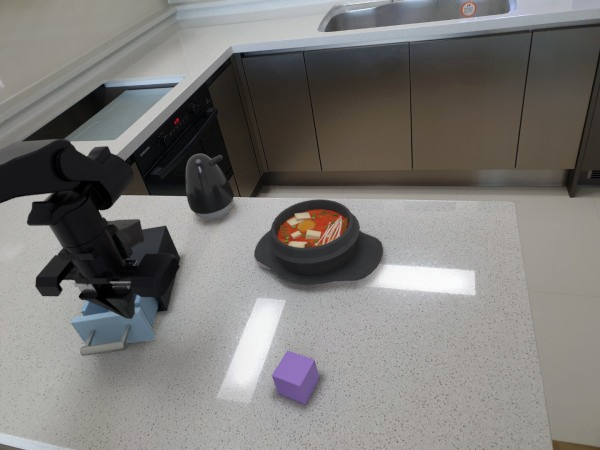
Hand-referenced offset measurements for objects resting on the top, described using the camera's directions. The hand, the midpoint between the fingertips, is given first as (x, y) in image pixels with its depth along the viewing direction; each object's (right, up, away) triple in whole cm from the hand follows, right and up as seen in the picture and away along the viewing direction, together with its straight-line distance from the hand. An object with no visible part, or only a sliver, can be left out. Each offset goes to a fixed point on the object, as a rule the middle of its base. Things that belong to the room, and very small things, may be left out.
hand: (131, 316), depth 67 cm
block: (+24, -10, 0) cm, 26 cm away
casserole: (+28, +7, +21) cm, 36 cm away
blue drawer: (-6, -4, +14) cm, 16 cm away
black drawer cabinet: (-6, +1, +23) cm, 24 cm away
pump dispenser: (+5, +16, +39) cm, 43 cm away
